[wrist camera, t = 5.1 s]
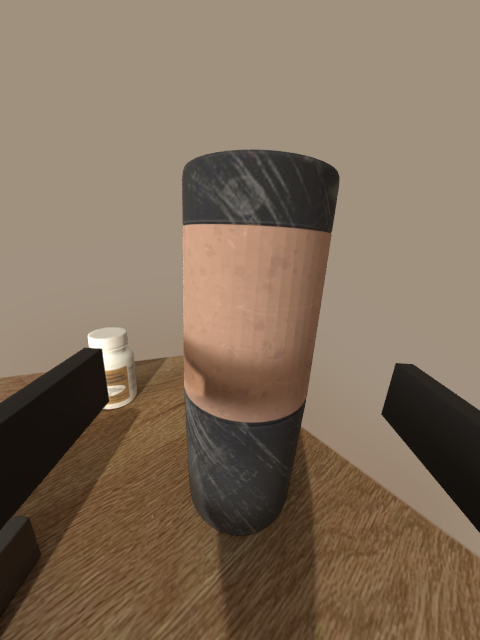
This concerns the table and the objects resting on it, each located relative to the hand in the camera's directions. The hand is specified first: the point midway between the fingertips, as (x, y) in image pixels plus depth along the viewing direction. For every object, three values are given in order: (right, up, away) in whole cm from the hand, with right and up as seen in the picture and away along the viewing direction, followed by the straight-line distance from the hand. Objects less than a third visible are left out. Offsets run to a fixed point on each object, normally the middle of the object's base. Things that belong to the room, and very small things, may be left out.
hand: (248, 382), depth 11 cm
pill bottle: (-14, -6, +15) cm, 22 cm away
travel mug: (-1, -9, +7) cm, 12 cm away
